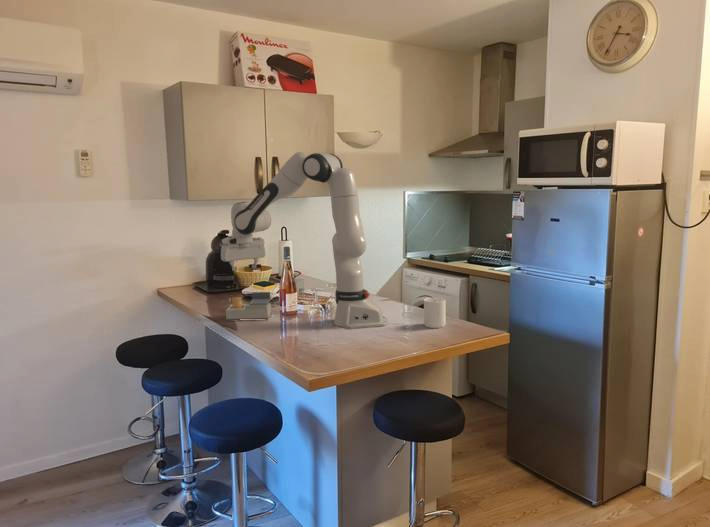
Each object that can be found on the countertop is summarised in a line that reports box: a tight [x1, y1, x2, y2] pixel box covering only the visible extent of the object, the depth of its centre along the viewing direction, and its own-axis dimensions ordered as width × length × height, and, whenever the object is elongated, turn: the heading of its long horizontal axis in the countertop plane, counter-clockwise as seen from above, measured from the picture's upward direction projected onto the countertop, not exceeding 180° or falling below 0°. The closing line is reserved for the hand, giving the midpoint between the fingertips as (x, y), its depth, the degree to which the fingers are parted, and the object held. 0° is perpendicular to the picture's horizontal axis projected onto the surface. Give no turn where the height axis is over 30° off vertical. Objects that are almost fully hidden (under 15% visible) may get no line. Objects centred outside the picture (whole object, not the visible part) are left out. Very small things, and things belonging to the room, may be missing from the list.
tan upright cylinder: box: [231, 296, 243, 308], centre depth 240 cm, size 4×4×8 cm
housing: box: [225, 302, 272, 321], centre depth 240 cm, size 18×11×6 cm, turn 91°
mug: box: [423, 297, 447, 329], centre depth 219 cm, size 9×12×11 cm
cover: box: [248, 291, 271, 305], centre depth 246 cm, size 8×10×4 cm
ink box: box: [294, 278, 305, 294], centre depth 267 cm, size 9×9×12 cm
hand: (244, 269), depth 243 cm, fingers open, 8 cm apart
